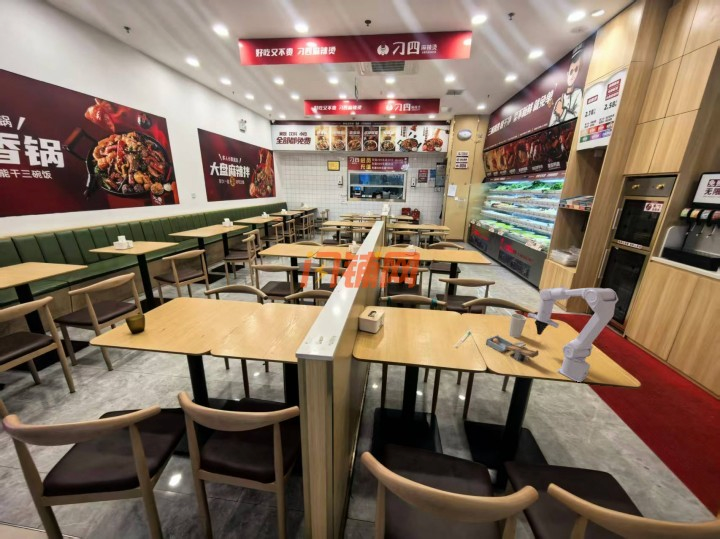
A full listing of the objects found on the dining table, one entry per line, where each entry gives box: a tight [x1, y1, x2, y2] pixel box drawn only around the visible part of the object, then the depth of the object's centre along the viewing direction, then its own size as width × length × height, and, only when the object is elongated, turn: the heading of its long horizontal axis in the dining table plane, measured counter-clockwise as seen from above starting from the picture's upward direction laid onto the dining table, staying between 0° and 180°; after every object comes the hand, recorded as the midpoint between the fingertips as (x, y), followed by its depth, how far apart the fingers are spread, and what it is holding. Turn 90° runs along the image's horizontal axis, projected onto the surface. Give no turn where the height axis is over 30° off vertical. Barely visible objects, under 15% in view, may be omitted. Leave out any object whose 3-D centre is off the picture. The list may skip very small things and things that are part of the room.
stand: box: [509, 346, 531, 364], centre depth 143 cm, size 6×7×5 cm
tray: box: [485, 334, 514, 353], centre depth 153 cm, size 9×9×4 cm
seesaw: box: [505, 341, 539, 359], centre depth 144 cm, size 14×12×2 cm
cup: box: [508, 313, 527, 339], centre depth 164 cm, size 8×8×12 cm
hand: (539, 334), depth 149 cm, fingers closed
